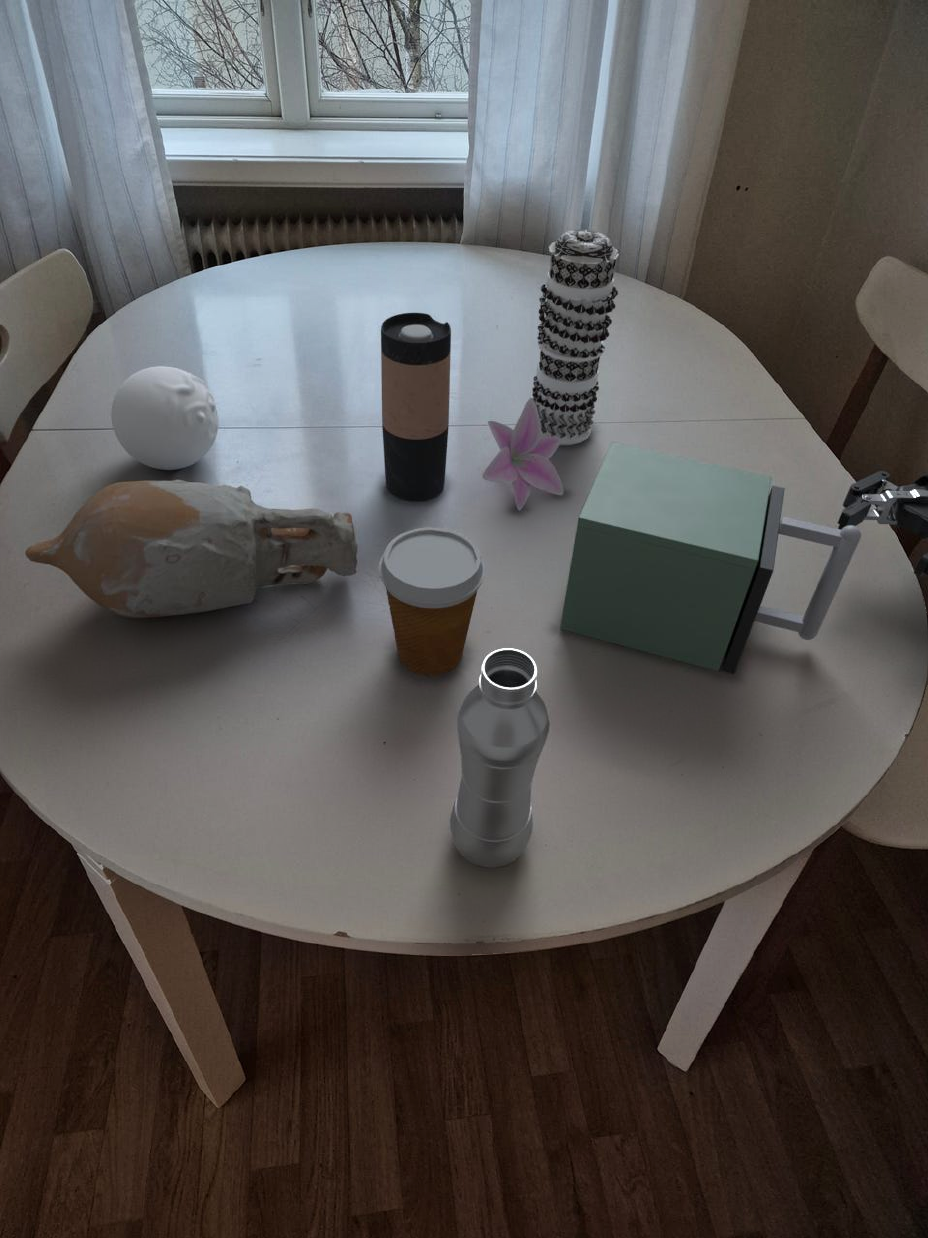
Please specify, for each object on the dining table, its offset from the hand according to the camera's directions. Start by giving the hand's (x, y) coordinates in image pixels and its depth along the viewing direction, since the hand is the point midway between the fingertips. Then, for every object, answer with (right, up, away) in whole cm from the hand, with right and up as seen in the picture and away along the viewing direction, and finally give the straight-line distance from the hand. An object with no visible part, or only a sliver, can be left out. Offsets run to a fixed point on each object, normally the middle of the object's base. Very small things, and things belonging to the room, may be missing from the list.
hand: (880, 545), depth 85 cm
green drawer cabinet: (-22, -6, +6) cm, 23 cm away
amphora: (-67, -5, +4) cm, 68 cm away
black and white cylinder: (-28, +18, +31) cm, 46 cm away
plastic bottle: (-39, -25, -16) cm, 49 cm away
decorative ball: (-77, +12, +21) cm, 81 cm away
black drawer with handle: (-16, -7, +4) cm, 19 cm away
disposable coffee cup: (-44, -11, -1) cm, 46 cm away
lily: (-35, +8, +20) cm, 41 cm away
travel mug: (-47, +9, +20) cm, 52 cm away
